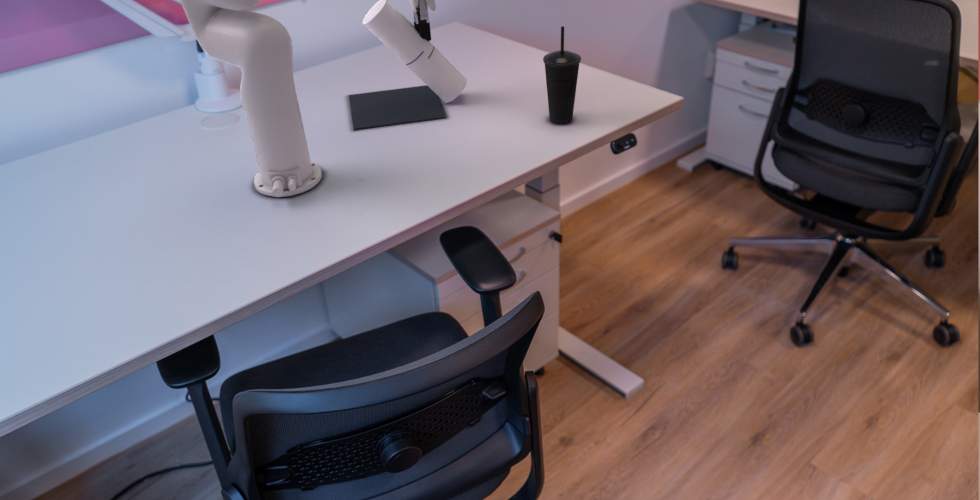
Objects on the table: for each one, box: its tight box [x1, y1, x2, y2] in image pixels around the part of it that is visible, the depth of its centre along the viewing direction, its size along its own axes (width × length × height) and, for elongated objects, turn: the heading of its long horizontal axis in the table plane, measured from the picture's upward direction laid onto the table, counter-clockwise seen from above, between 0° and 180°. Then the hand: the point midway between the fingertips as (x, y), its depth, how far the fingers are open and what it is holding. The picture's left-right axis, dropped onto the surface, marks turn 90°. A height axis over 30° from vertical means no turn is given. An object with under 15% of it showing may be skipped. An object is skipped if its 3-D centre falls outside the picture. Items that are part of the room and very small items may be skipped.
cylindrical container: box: [361, 0, 468, 104], centre depth 158 cm, size 7×7×25 cm
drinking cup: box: [542, 25, 582, 126], centre depth 149 cm, size 8×8×20 cm
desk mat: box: [348, 85, 447, 131], centre depth 164 cm, size 18×20×1 cm
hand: (423, 40), depth 157 cm, fingers closed
